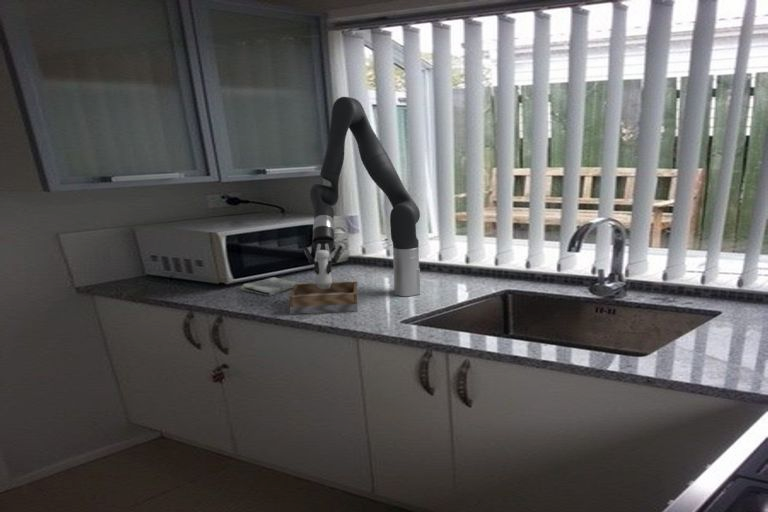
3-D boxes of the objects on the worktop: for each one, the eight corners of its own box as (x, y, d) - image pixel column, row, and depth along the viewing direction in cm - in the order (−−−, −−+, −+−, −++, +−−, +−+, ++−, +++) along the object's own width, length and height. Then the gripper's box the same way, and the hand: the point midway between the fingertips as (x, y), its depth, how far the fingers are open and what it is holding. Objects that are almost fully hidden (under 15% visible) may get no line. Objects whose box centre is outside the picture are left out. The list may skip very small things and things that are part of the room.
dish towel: (304, 287, 207) (304, 279, 206) (269, 298, 193) (269, 289, 192) (273, 281, 218) (272, 273, 217) (237, 291, 204) (237, 283, 203)
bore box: (357, 297, 188) (357, 281, 187) (357, 311, 172) (356, 293, 171) (296, 300, 187) (295, 284, 186) (290, 314, 171) (289, 296, 170)
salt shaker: (329, 290, 175) (327, 252, 172) (313, 289, 176) (311, 252, 173) (334, 285, 181) (333, 249, 178) (318, 285, 182) (317, 248, 179)
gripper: (302, 225, 181) (300, 267, 172) (343, 224, 182) (343, 266, 172) (304, 237, 187) (303, 279, 178) (344, 236, 188) (344, 278, 179)
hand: (323, 272), depth 175 cm, fingers closed on salt shaker, 3 cm apart
